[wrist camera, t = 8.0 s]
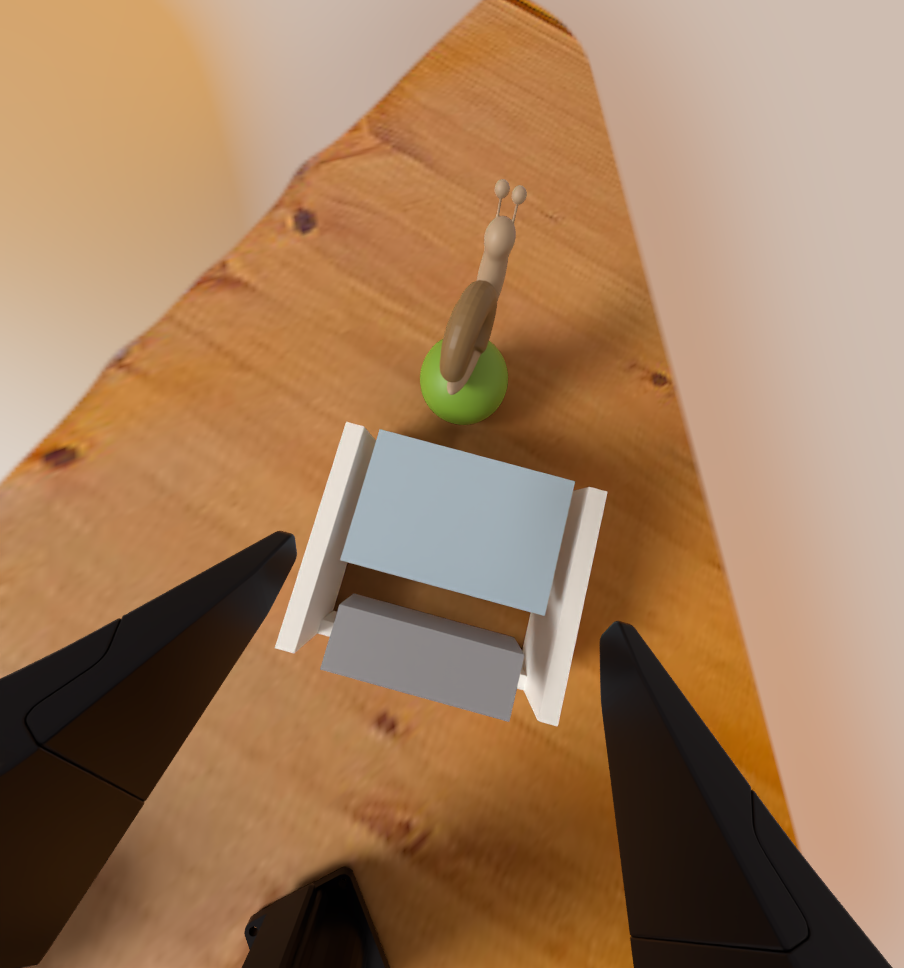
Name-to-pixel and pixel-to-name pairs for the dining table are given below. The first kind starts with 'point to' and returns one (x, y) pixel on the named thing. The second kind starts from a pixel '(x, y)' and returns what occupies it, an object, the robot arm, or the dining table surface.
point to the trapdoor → (447, 570)
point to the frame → (545, 634)
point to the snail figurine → (474, 334)
